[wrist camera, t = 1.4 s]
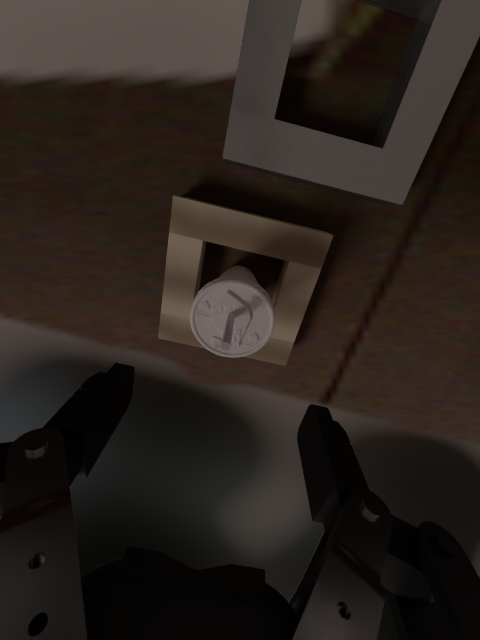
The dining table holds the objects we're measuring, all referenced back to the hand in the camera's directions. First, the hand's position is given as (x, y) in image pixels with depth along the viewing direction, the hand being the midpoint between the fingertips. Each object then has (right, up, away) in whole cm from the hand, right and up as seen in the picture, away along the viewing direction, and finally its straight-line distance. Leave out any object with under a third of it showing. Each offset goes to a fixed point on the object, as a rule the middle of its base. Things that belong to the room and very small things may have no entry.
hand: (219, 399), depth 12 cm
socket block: (+1, +8, +16) cm, 18 cm away
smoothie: (+1, +8, +16) cm, 18 cm away
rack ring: (+9, +23, +8) cm, 26 cm away
